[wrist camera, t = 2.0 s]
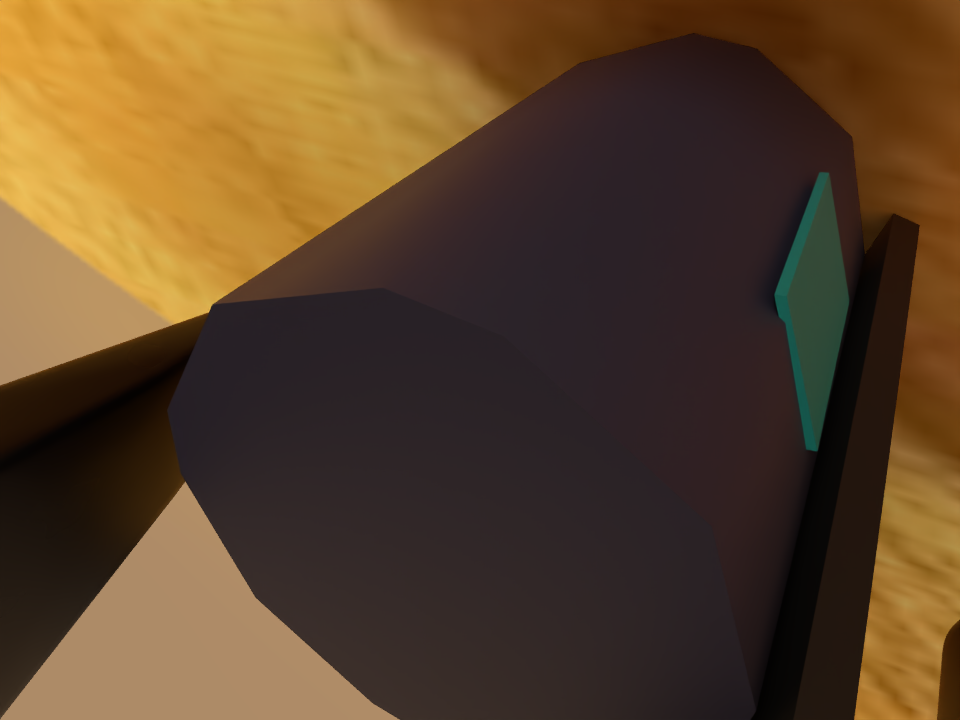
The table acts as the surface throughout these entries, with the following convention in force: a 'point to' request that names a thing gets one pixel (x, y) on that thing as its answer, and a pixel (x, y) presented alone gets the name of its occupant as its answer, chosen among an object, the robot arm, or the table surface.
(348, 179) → the table surface
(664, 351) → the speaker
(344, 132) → the table surface
